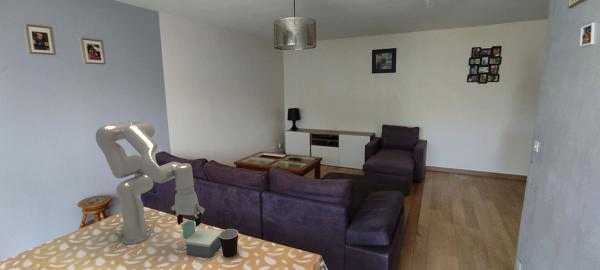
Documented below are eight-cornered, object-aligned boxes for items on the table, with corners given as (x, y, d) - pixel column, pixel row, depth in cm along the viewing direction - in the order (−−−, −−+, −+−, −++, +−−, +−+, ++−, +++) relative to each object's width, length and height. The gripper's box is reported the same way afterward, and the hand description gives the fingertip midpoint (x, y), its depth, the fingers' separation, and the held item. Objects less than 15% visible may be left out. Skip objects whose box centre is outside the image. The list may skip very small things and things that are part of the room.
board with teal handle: (223, 233, 136) (222, 220, 134) (209, 247, 124) (208, 232, 123) (194, 229, 139) (193, 216, 138) (178, 242, 128) (177, 228, 127)
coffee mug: (234, 260, 124) (233, 239, 123) (217, 258, 126) (215, 237, 124) (244, 245, 136) (243, 226, 134) (228, 243, 137) (227, 225, 136)
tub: (187, 254, 129) (185, 243, 128) (200, 241, 139) (199, 230, 138) (210, 258, 126) (209, 246, 125) (222, 244, 136) (221, 233, 135)
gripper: (164, 192, 128) (168, 226, 131) (197, 194, 123) (200, 229, 126) (175, 186, 135) (178, 219, 138) (206, 188, 131) (209, 221, 134)
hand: (189, 224), depth 132 cm, fingers open, 9 cm apart
